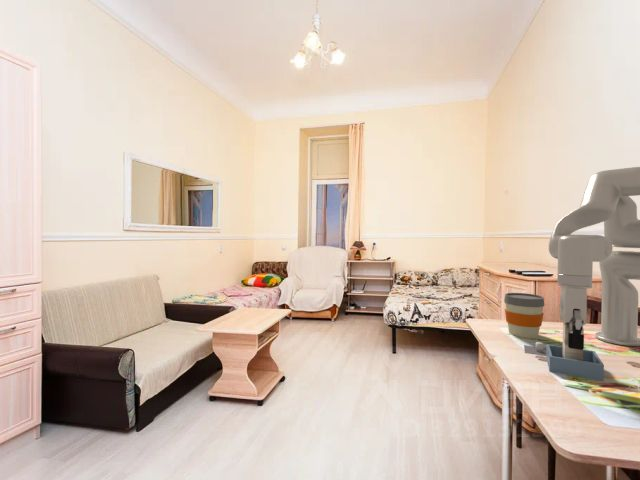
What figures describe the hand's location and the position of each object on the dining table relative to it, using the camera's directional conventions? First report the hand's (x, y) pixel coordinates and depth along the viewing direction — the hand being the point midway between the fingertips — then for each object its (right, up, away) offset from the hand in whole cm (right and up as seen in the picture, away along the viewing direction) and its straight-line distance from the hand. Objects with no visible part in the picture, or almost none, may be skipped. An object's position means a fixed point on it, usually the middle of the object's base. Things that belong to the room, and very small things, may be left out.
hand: (572, 343), depth 91 cm
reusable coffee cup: (+5, -7, +31) cm, 32 cm away
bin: (0, -8, 0) cm, 8 cm away
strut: (0, -7, 0) cm, 7 cm away
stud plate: (0, -8, +13) cm, 15 cm away
